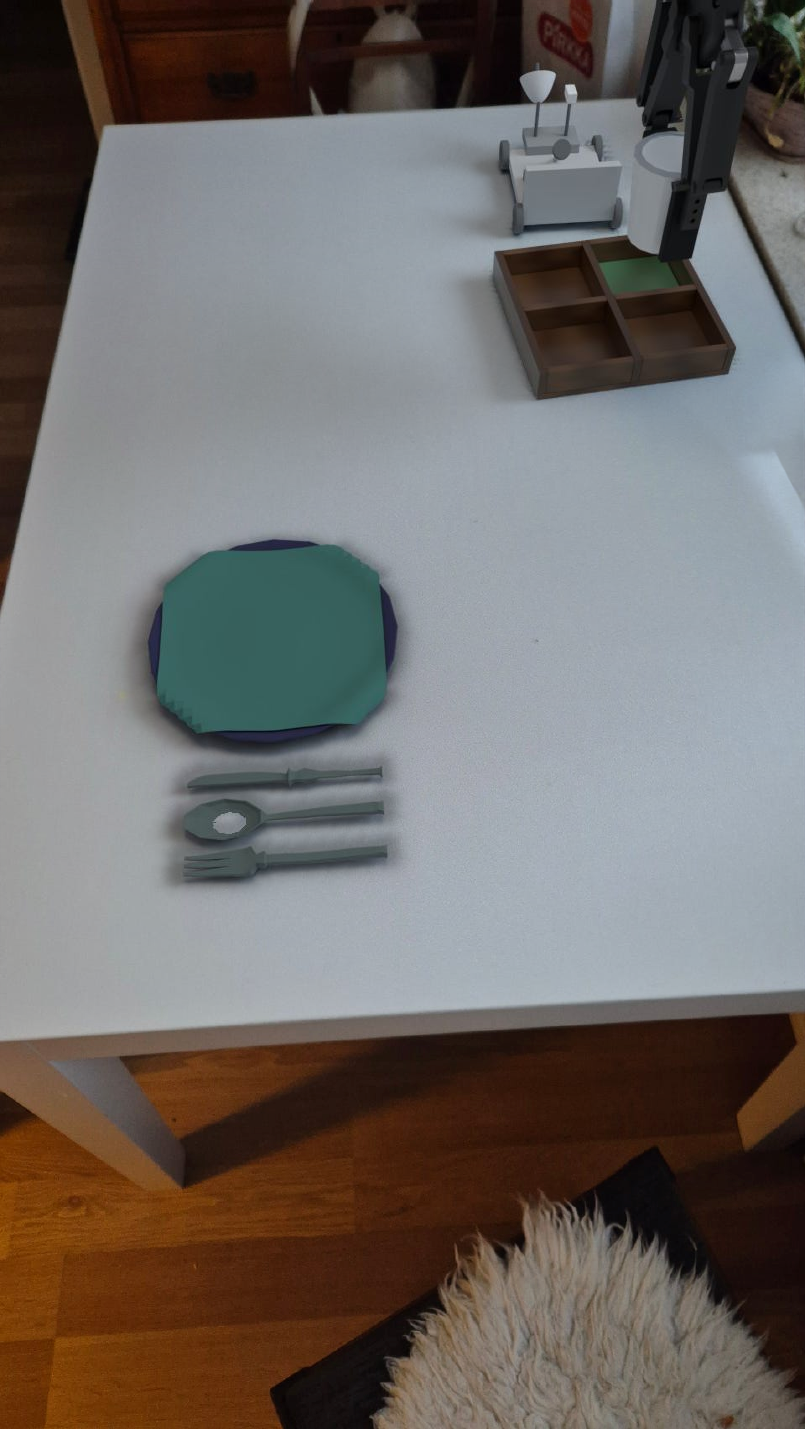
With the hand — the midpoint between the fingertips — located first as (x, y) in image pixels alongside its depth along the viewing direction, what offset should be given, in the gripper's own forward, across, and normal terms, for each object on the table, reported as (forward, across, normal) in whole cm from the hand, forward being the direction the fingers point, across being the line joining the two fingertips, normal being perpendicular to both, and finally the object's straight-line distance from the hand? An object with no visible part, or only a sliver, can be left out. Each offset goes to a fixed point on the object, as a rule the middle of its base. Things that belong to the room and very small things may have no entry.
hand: (660, 231), depth 86 cm
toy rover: (+15, -32, +1) cm, 35 cm away
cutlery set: (+15, +30, -39) cm, 52 cm away
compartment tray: (+15, -8, 0) cm, 17 cm away
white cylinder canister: (+1, 0, 0) cm, 1 cm away
